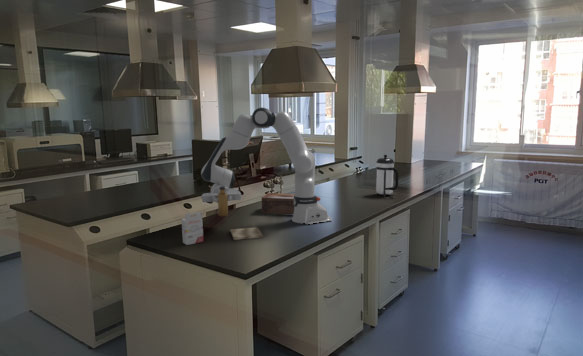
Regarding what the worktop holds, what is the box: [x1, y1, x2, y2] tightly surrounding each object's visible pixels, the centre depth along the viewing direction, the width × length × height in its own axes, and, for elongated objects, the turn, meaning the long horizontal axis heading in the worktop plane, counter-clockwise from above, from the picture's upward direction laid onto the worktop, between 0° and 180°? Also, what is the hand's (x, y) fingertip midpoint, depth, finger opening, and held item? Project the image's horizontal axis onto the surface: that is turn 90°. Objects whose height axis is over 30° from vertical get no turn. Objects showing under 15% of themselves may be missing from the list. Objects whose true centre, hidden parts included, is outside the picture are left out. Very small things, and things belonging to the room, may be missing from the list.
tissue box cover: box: [261, 192, 295, 215], centre depth 247 cm, size 26×14×10 cm, turn 78°
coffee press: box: [374, 154, 399, 196], centre depth 294 cm, size 17×16×30 cm
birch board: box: [230, 226, 263, 241], centre depth 201 cm, size 14×14×1 cm
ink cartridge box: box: [181, 211, 204, 246], centre depth 188 cm, size 9×5×15 cm, turn 126°
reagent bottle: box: [217, 186, 229, 217], centre depth 204 cm, size 5×5×15 cm
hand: (223, 199), depth 203 cm, fingers closed on reagent bottle, 5 cm apart
